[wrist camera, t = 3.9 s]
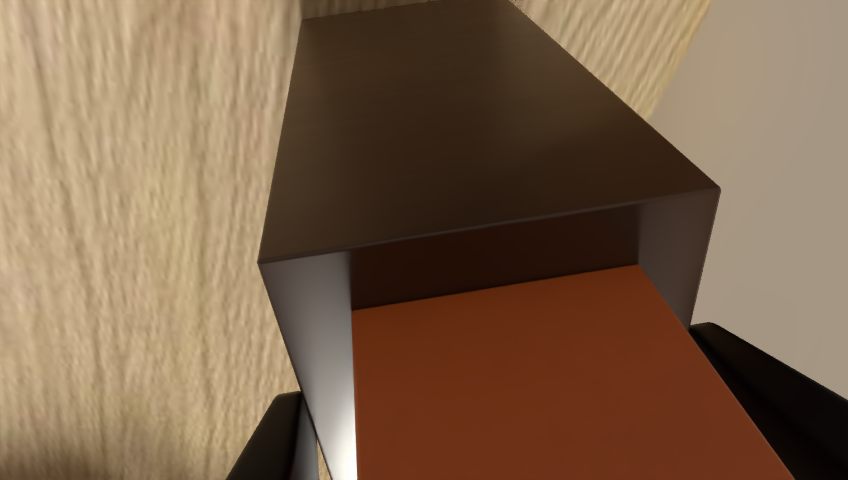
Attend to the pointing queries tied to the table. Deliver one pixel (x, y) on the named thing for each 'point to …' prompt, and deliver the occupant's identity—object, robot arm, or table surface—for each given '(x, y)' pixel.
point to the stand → (456, 182)
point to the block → (546, 388)
